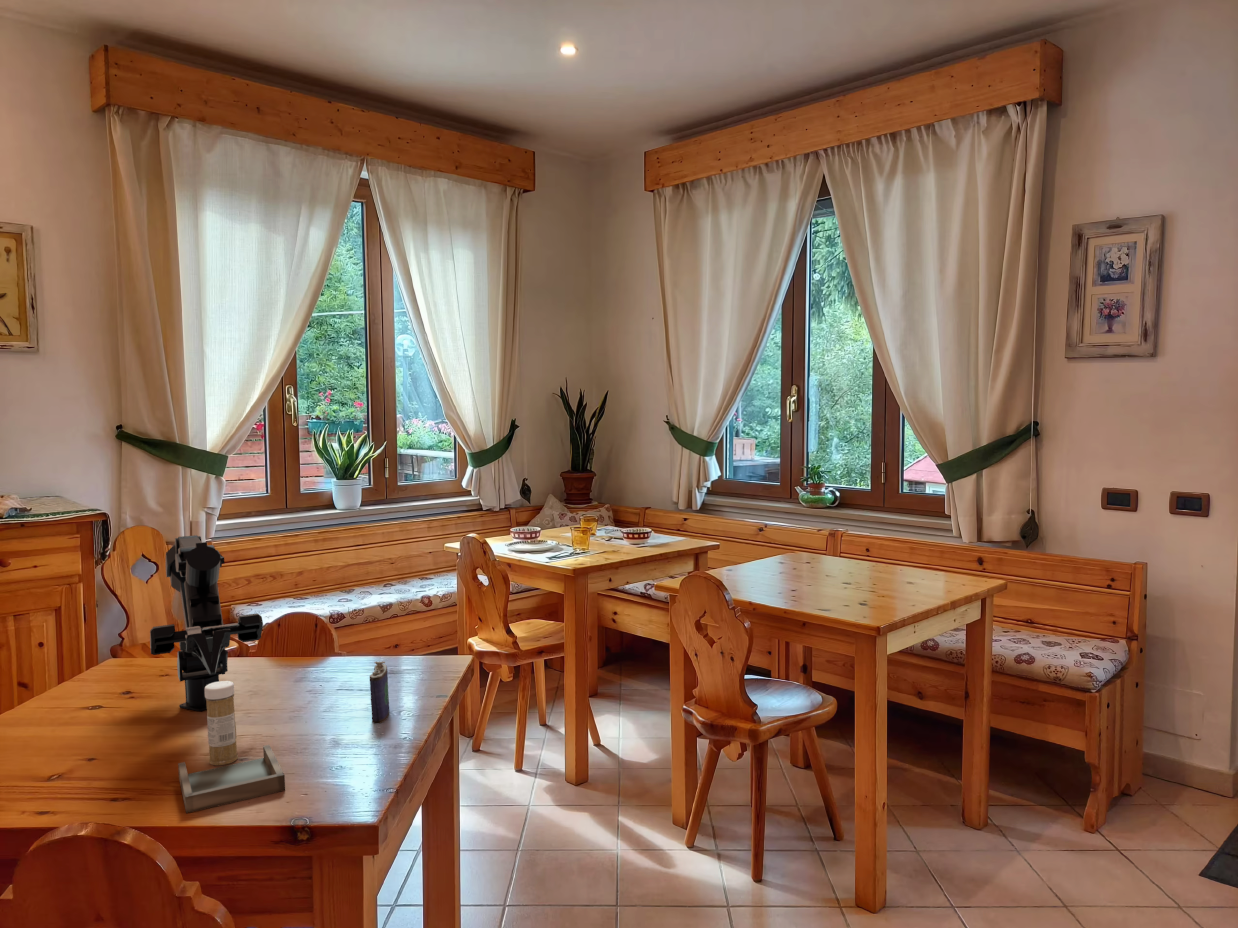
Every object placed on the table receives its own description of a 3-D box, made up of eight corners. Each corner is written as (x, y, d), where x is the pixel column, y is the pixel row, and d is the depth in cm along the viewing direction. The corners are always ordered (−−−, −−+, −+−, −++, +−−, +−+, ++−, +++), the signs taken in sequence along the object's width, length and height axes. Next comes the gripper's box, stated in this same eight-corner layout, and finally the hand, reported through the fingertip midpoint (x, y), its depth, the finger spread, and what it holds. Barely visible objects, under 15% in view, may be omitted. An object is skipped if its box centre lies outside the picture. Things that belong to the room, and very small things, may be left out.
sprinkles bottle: (237, 753, 151) (233, 678, 150) (238, 763, 147) (234, 685, 146) (208, 758, 149) (204, 682, 148) (208, 768, 145) (204, 690, 144)
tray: (178, 778, 141) (178, 763, 141) (270, 758, 148) (269, 744, 148) (186, 813, 129) (185, 796, 128) (285, 790, 136) (284, 774, 136)
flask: (376, 707, 173) (374, 654, 172) (392, 706, 173) (390, 653, 172) (370, 724, 164) (368, 668, 163) (386, 723, 164) (384, 668, 163)
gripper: (252, 617, 175) (263, 686, 166) (147, 631, 165) (153, 704, 156) (256, 586, 167) (269, 656, 159) (147, 598, 158) (154, 673, 149)
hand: (212, 673), depth 156 cm, fingers closed
